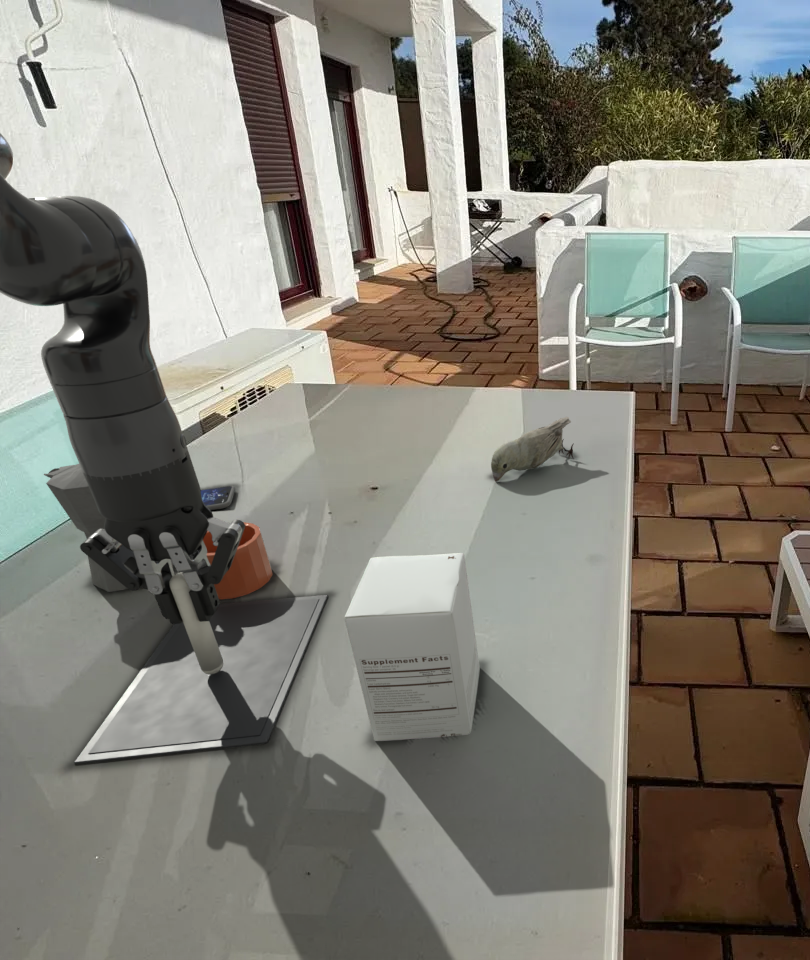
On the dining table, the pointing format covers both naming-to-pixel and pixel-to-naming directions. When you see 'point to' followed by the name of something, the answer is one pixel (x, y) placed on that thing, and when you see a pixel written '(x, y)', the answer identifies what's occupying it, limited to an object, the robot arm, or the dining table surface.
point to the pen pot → (243, 564)
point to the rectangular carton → (415, 646)
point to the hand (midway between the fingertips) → (194, 616)
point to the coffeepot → (82, 515)
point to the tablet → (211, 684)
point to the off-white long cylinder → (196, 628)
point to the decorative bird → (530, 449)
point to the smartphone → (218, 497)
